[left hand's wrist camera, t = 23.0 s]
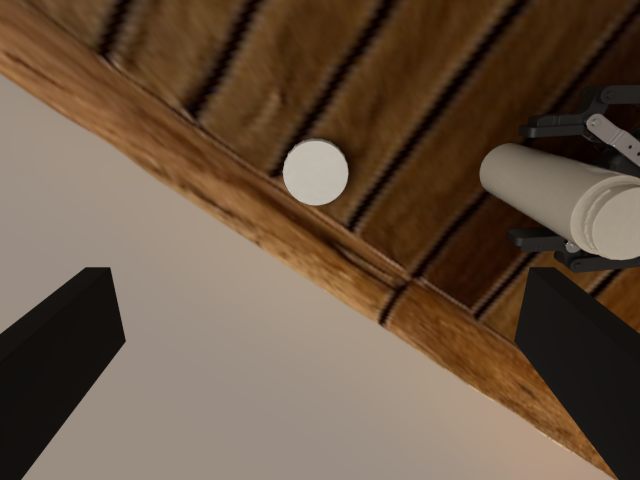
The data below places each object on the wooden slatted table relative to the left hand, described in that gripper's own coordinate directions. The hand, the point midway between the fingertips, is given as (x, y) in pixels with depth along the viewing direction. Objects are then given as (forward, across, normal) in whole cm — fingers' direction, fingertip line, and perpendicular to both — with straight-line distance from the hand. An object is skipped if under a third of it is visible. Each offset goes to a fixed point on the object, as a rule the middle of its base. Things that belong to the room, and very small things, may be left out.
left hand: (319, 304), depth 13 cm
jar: (+25, +17, -1) cm, 31 cm away
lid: (+24, 0, -1) cm, 24 cm away
